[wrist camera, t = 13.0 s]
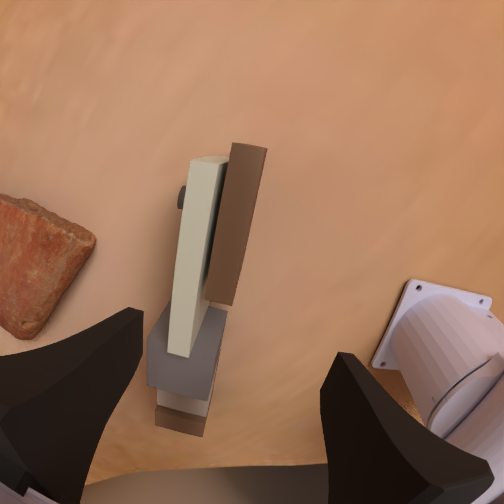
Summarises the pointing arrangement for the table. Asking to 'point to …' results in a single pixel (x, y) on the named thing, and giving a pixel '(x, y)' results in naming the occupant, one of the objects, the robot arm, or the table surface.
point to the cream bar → (195, 250)
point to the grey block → (182, 368)
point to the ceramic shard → (36, 263)
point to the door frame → (220, 272)
